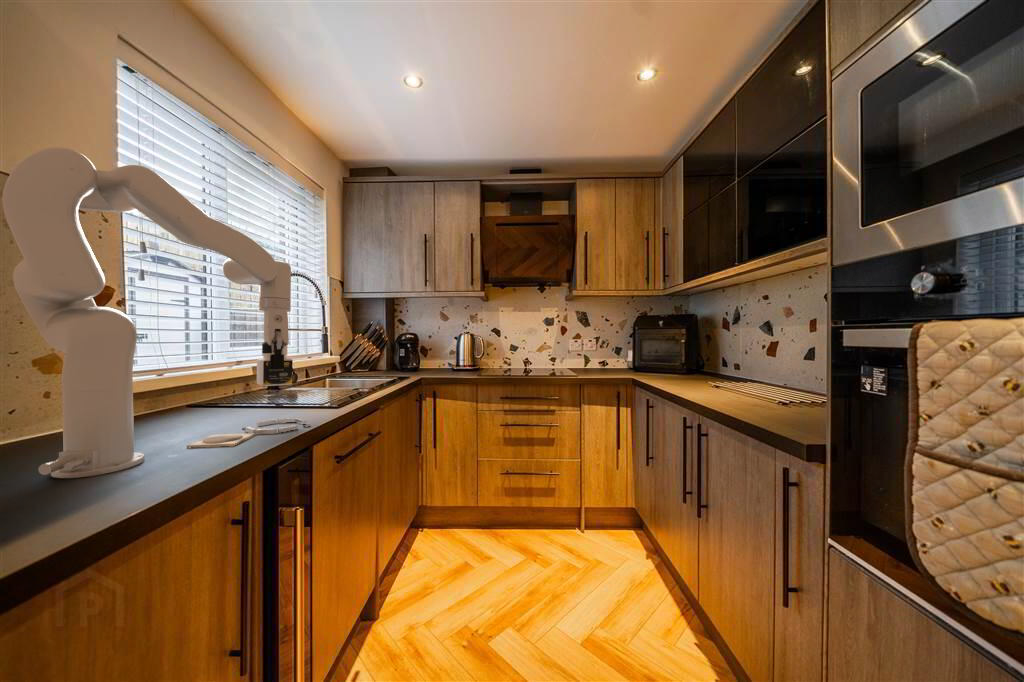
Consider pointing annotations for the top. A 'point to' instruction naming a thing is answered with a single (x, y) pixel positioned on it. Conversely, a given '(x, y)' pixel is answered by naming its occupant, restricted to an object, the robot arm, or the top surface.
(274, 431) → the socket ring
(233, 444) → the cork pad
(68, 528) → the top surface
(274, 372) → the medicine bottle
